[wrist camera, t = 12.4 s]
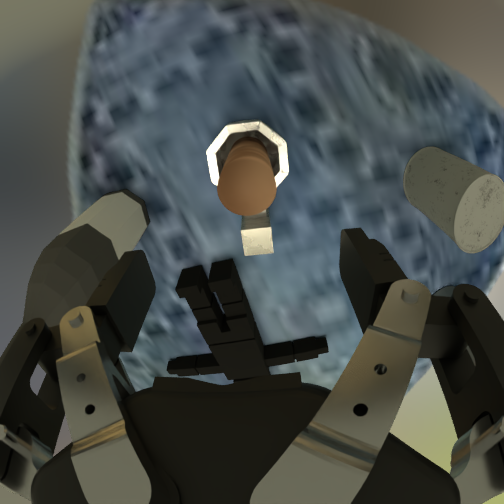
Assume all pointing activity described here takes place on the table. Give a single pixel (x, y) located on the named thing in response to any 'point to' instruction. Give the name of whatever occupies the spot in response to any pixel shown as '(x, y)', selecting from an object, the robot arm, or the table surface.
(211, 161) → the mug
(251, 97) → the table surface
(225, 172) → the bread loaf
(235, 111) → the table surface
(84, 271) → the wine bottle
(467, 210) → the speckled stone cylinder
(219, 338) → the toy
